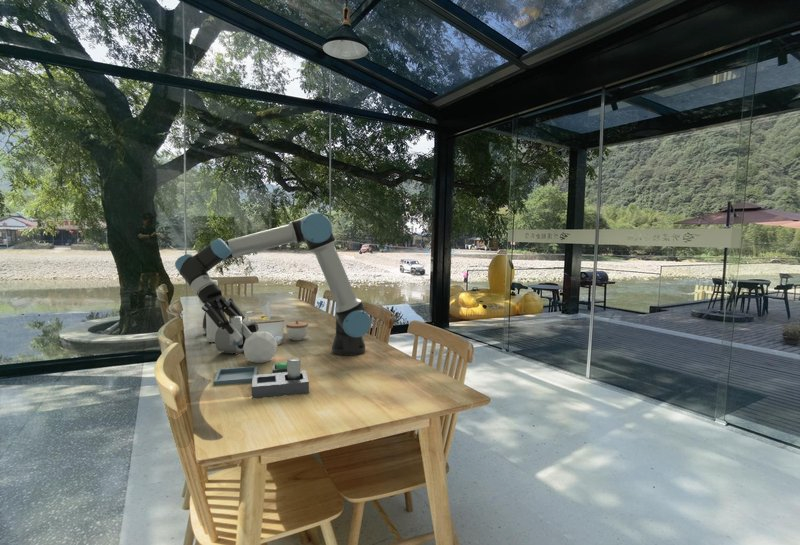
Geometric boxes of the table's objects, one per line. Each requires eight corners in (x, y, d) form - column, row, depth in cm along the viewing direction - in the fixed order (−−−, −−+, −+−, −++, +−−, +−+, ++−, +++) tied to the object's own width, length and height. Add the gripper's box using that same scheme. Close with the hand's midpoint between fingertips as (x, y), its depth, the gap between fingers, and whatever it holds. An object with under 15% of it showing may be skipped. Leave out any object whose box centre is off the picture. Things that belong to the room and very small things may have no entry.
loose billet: (243, 342, 155) (242, 315, 154) (242, 345, 151) (241, 317, 150) (230, 343, 154) (229, 316, 153) (229, 346, 149) (228, 318, 148)
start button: (288, 369, 159) (288, 361, 158) (288, 373, 155) (288, 365, 154) (276, 370, 157) (275, 362, 157) (276, 374, 153) (276, 366, 153)
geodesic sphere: (240, 356, 161) (261, 326, 166) (229, 349, 172) (248, 320, 176) (269, 373, 169) (288, 343, 174) (257, 364, 180) (275, 336, 184)
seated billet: (300, 385, 148) (299, 357, 147) (301, 390, 143) (300, 361, 142) (287, 386, 146) (286, 358, 145) (287, 391, 142) (287, 362, 141)
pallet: (305, 381, 152) (305, 370, 151) (308, 393, 140) (308, 381, 140) (253, 386, 146) (253, 374, 146) (252, 399, 135) (251, 386, 135)
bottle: (205, 343, 202) (203, 281, 200) (207, 339, 210) (206, 279, 207) (223, 342, 204) (221, 281, 202) (225, 338, 212) (223, 279, 209)
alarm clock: (235, 357, 181) (234, 326, 180) (215, 355, 182) (214, 325, 181) (259, 344, 201) (259, 317, 200) (241, 343, 203) (240, 316, 201)
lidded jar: (305, 341, 208) (305, 322, 207) (283, 341, 208) (283, 322, 207) (310, 336, 218) (310, 318, 217) (289, 336, 218) (289, 318, 218)
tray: (257, 371, 162) (257, 365, 162) (256, 383, 149) (256, 377, 148) (218, 374, 158) (218, 368, 158) (213, 387, 145) (213, 381, 144)
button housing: (291, 373, 160) (291, 362, 160) (292, 379, 154) (292, 368, 153) (272, 374, 158) (272, 364, 158) (272, 380, 152) (272, 370, 151)
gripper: (193, 285, 145) (233, 336, 141) (229, 280, 162) (266, 326, 158) (182, 300, 148) (221, 350, 144) (218, 293, 164) (254, 338, 160)
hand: (244, 337), depth 151 cm, fingers closed on loose billet, 4 cm apart
